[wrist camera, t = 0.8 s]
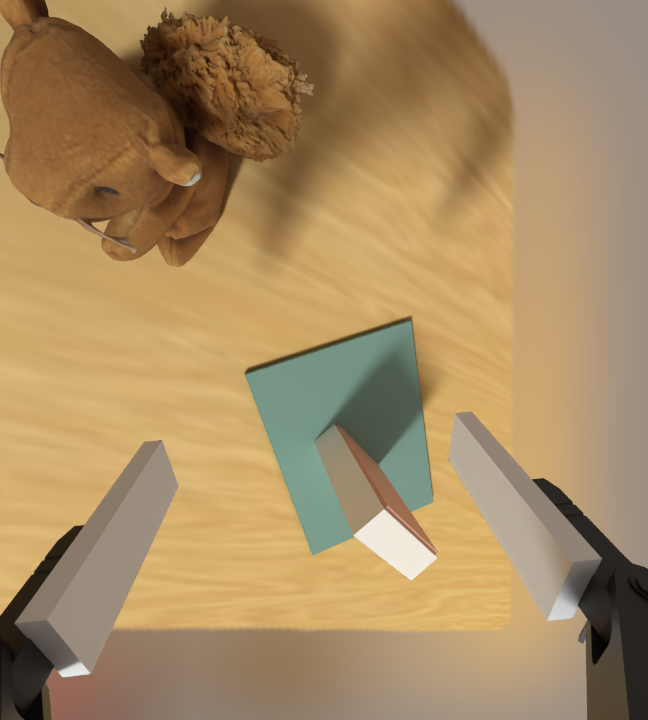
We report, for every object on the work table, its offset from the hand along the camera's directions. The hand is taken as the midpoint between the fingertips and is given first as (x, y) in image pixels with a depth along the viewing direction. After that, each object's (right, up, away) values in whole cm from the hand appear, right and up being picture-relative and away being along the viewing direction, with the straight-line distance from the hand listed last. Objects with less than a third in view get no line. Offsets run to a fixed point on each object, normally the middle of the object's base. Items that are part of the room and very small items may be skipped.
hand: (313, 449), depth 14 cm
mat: (+4, -5, +19) cm, 20 cm away
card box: (+3, -6, +18) cm, 19 cm away
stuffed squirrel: (-9, +18, +7) cm, 21 cm away
